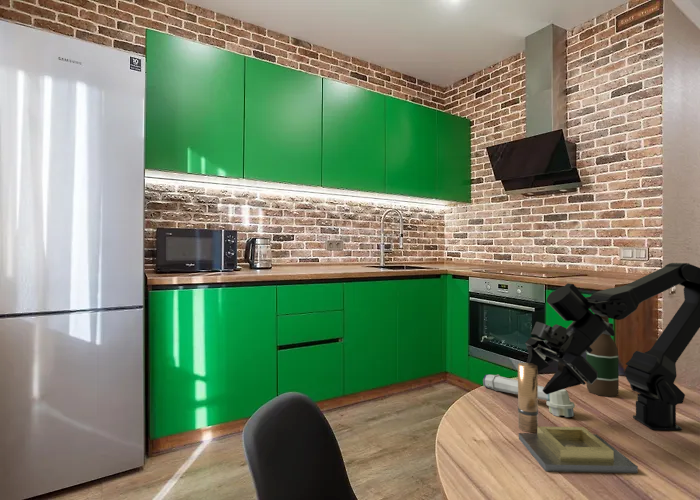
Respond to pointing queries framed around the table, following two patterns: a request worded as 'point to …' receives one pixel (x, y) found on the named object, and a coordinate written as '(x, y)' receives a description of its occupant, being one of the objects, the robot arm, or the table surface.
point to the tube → (528, 397)
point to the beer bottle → (604, 366)
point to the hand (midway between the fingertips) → (532, 385)
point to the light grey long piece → (555, 400)
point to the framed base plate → (574, 451)
